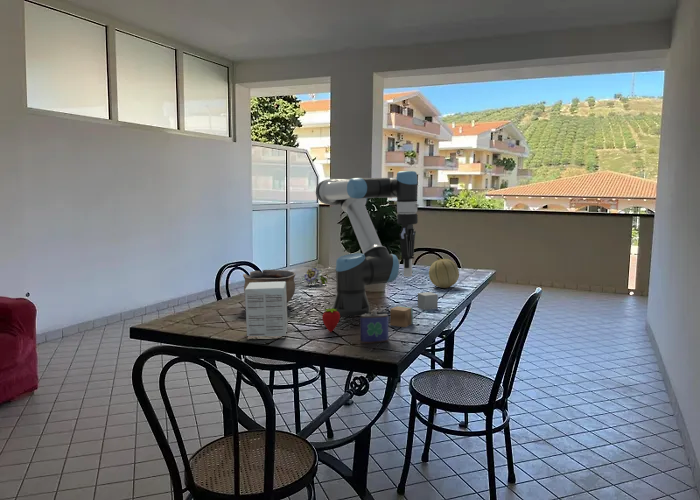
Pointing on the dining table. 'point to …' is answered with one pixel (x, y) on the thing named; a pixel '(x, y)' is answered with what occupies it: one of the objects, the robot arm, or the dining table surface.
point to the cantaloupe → (443, 273)
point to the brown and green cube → (401, 316)
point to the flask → (374, 328)
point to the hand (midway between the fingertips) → (407, 276)
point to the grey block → (427, 300)
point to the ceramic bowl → (273, 279)
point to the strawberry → (331, 318)
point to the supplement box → (266, 309)
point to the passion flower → (314, 276)
